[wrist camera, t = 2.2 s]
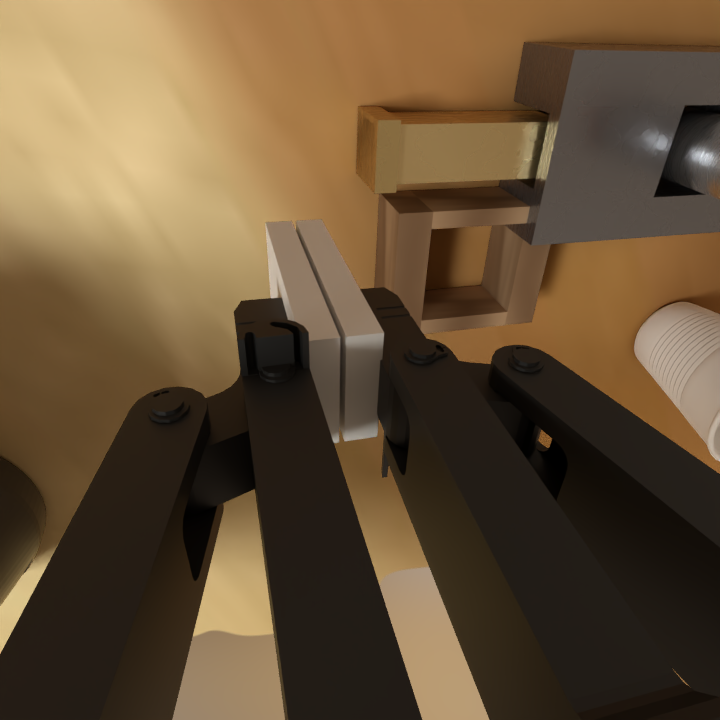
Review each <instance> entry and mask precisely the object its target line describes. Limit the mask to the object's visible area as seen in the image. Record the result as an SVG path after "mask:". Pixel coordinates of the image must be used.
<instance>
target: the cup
mask: <svg viewBox="0 0 720 720" xmlns="http://www.w3.org/2000/svg"><path fill="white" fill-rule="evenodd" d="M634 352H635V355H636V357H637V359H638V360H639V361H640V363H641V364H642V365H643V366H644V368H645V369H646V370H647V371H648V373H649V374H650V375H651V376H652V377H653V378H654V379H655V381H656V382H657V383H658V385H659V386H660V387H661V388H662V390H663V391H664V392H665V393H666V394H667V395H668V397H669V398H670V399H671V400H672V402H673V403H674V404H675V406H676V407H677V408H678V409H679V411H680V412H681V413H682V414H683V416H684V417H685V418H686V420H687V421H688V422H689V423H690V425H691V426H692V427H693V428H694V429H695V431H696V432H697V433H698V434H699V436H700V437H701V438H702V439H703V441H704V442H705V443H706V444H707V447H708V449H709V452H710V454H711V455H712V456H713V457H714V458H715V459H716V460H718V461H720V314H718V313H715V312H713V311H711V310H708V309H706V308H703V307H700V306H698V305H695V304H693V303H689V302H677V303H673V304H670V305H667V306H665V307H663V308H661V309H659V310H658V311H656V312H655V313H653V314H652V315H651V316H650V317H649V318H648V319H647V320H646V321H645V322H644V323H643V325H642V326H641V328H640V329H639V331H638V333H637V336H636V339H635V344H634Z"/></svg>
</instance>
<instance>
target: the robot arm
mask: <svg viewBox="0 0 720 720" xmlns="http://www.w3.org/2000/svg"><path fill="white" fill-rule="evenodd" d="M265 224H266V238H267V253H268V267H269V281H270V295H271V298H270V299H258V300H246V301H241V302H240V304H239V305H238V307H237V308H236V310H235V311H234V316H235V325H236V334H237V342H238V351H239V360H240V368H241V371H240V376H239V378H238V380H237V381H236V382H235V383H234V384H233V385H232V386H231V387H230V388H228V389H226V390H225V391H223V392H221V393H219V394H216V395H214V396H211V397H208V398H204V396H203V395H202V393H200V392H198V391H196V390H194V389H191V388H184V387H171V388H163V389H160V390H157V391H154V392H151V393H149V394H147V395H146V396H144V397H142V398H141V399H139V400H138V401H137V402H136V403H135V404H134V406H133V407H132V408H131V409H130V411H129V413H128V415H127V417H126V419H125V420H124V422H123V424H122V426H121V428H120V430H119V432H118V434H117V435H116V437H115V439H114V441H113V443H112V445H111V447H110V449H109V451H108V452H107V454H106V456H105V458H104V460H103V462H102V464H101V466H100V467H99V469H98V471H97V473H96V475H95V477H94V479H93V481H92V483H91V484H90V486H89V488H88V490H87V492H86V494H85V496H84V498H83V499H82V501H81V503H80V505H79V507H78V509H77V511H76V513H75V515H74V516H73V518H72V520H71V522H70V524H69V526H68V528H67V530H66V531H65V533H64V535H63V537H62V539H61V541H60V543H59V545H58V547H57V548H56V550H55V552H54V554H53V556H52V558H51V560H50V562H49V563H48V565H47V567H46V569H45V571H44V573H43V575H42V577H41V579H40V580H39V582H38V584H37V586H36V588H35V590H34V592H33V594H32V595H31V597H30V599H29V601H28V603H27V605H26V607H25V609H24V610H23V612H22V614H21V616H20V618H19V620H18V622H17V624H16V626H15V627H14V629H13V631H12V633H11V635H10V637H9V639H8V641H7V642H6V644H5V646H4V648H3V650H2V652H1V654H0V720H172V718H173V714H174V710H175V706H176V702H177V698H178V694H179V690H180V685H181V681H182V677H183V673H184V669H185V665H186V660H187V657H188V652H189V649H190V645H191V641H192V637H193V632H194V628H195V624H196V620H197V616H198V612H199V608H200V604H201V600H202V596H203V592H204V587H205V583H206V579H207V575H208V571H209V567H210V563H211V559H212V555H213V551H214V547H215V543H216V538H217V534H218V530H219V526H220V522H221V518H222V514H223V503H224V502H226V501H229V500H231V499H233V498H235V497H238V496H240V495H242V494H244V493H246V492H249V491H251V490H253V489H255V494H256V501H257V509H258V517H259V524H260V532H261V539H262V547H263V555H264V562H265V570H266V577H267V585H268V593H269V600H270V608H271V615H272V623H273V631H274V638H275V645H276V653H277V661H278V668H279V676H280V683H281V691H282V699H283V707H284V713H285V720H422V718H421V714H420V711H419V708H418V705H417V702H416V699H415V696H414V692H413V689H412V686H411V684H410V680H409V677H408V674H407V671H406V668H405V664H404V662H403V658H402V655H401V652H400V649H399V646H398V642H397V640H396V637H395V633H394V630H393V627H392V624H391V621H390V618H389V615H388V611H387V608H386V606H385V602H384V599H383V596H382V592H381V589H380V586H379V583H378V580H377V577H376V574H375V571H374V567H373V564H372V561H371V558H370V555H369V552H368V549H367V546H366V542H365V539H364V536H363V533H362V530H361V527H360V524H359V521H358V517H357V514H356V511H355V508H354V505H353V502H352V499H351V496H350V492H349V489H348V486H347V483H346V480H345V477H344V474H343V471H342V467H341V464H340V461H339V458H338V455H337V452H336V449H335V446H334V443H338V442H339V427H340V430H341V433H342V436H343V439H344V442H345V441H352V440H358V439H365V438H372V437H377V433H378V418H379V420H380V422H381V425H382V427H383V429H384V443H383V456H382V478H383V477H387V472H388V466H390V468H391V471H392V473H393V476H394V479H395V481H396V484H397V486H398V489H399V491H400V494H401V496H402V499H403V501H404V504H405V506H406V509H407V512H408V514H409V517H410V519H411V522H412V524H413V527H414V529H415V532H416V534H417V537H418V539H419V542H420V544H421V547H422V550H423V552H424V555H425V557H426V560H427V562H428V565H429V567H430V570H431V572H432V575H433V577H434V580H435V582H436V585H437V588H438V590H439V593H440V595H441V598H442V600H443V603H444V605H445V608H446V610H447V613H448V615H449V618H450V620H451V623H452V625H453V628H454V631H455V633H456V636H457V638H458V641H459V643H460V646H461V648H462V651H463V653H464V656H465V659H466V661H467V664H468V666H469V669H470V671H471V674H472V676H473V679H474V681H475V684H476V686H477V689H478V691H479V694H480V696H481V699H482V702H483V704H484V707H485V709H486V712H487V714H488V717H489V719H490V720H720V474H719V473H717V472H716V471H714V470H713V469H712V468H710V467H709V466H707V465H706V464H704V463H703V462H702V461H700V460H699V459H697V458H696V457H694V456H693V455H692V454H690V453H689V452H687V451H686V450H684V449H683V448H682V447H680V446H679V445H677V444H676V443H674V442H673V441H672V440H670V439H669V438H667V437H666V436H664V435H663V434H662V433H660V432H659V431H657V430H656V429H654V428H653V427H652V426H650V425H649V424H647V423H646V422H644V421H643V420H642V419H640V418H639V417H637V416H636V415H634V414H633V413H632V412H630V411H629V410H627V409H626V408H624V407H623V406H622V405H620V404H619V403H617V402H616V401H614V400H613V399H612V398H610V397H609V396H607V395H606V394H604V393H603V392H602V391H600V390H599V389H597V388H596V387H594V386H593V385H592V384H590V383H589V382H587V381H586V380H584V379H583V378H582V377H580V376H579V375H577V374H576V373H574V372H573V371H572V370H570V369H569V368H567V367H566V366H564V365H563V364H562V363H560V362H559V361H557V360H556V359H554V358H553V357H552V356H550V355H549V354H547V353H545V352H543V351H541V350H539V349H536V348H532V347H529V346H524V345H522V346H521V345H511V346H504V347H502V348H500V349H498V350H496V351H495V353H494V355H493V356H492V361H491V364H482V363H469V362H462V361H458V359H457V358H456V356H455V355H454V354H453V352H452V351H451V350H450V349H449V348H448V347H447V346H446V345H444V344H442V343H439V342H437V341H435V340H430V339H426V337H425V336H424V334H423V333H422V331H421V330H420V328H419V327H418V325H417V324H416V322H415V321H414V319H413V318H412V316H410V313H409V312H408V310H407V309H406V308H405V306H404V304H403V303H402V301H401V300H400V298H399V297H398V295H396V294H395V293H393V292H391V291H390V290H388V289H386V288H385V287H380V288H368V289H360V288H359V286H358V285H357V283H356V281H355V279H354V277H353V276H352V274H351V272H350V270H349V268H348V267H347V265H346V263H345V261H344V259H343V257H342V256H341V254H340V252H339V250H338V248H337V247H336V245H335V243H334V241H333V239H332V238H331V236H330V234H329V232H328V230H327V229H326V227H325V225H324V223H323V221H322V219H318V220H300V221H296V230H295V228H294V225H293V223H292V221H282V222H265ZM541 429H542V430H543V431H544V432H545V433H546V434H548V435H549V436H550V437H551V438H552V442H551V445H550V447H549V448H547V447H545V446H543V445H542V444H541V443H540V442H539V441H538V439H539V435H540V432H541ZM45 524H46V509H45V505H44V501H43V499H42V497H41V495H40V493H39V491H38V489H37V488H36V486H35V485H34V484H33V483H32V481H31V480H30V479H29V478H28V477H27V476H26V475H25V474H24V473H23V472H21V471H20V470H19V469H18V468H16V467H15V466H14V465H12V464H11V463H9V462H8V461H6V460H4V459H3V458H1V457H0V606H1V604H2V603H3V602H4V600H5V599H6V597H7V596H8V595H9V593H10V592H11V590H12V589H13V588H14V586H15V585H16V583H17V582H18V580H19V579H20V577H21V576H22V575H23V574H24V573H25V572H26V571H27V569H28V568H29V567H30V565H31V564H32V562H33V560H34V558H35V556H36V554H37V552H38V549H39V546H40V542H41V539H42V535H43V532H44V528H45ZM672 668H673V669H674V670H673V669H672ZM674 671H676V673H677V674H678V675H679V676H680V677H681V678H682V679H683V680H684V681H685V682H686V683H687V684H688V685H689V686H690V687H691V688H690V687H689V686H688V685H686V684H685V683H684V682H683V681H682V680H681V679H680V677H679V676H678V675H677V674H676V673H675V672H674Z"/></svg>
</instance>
